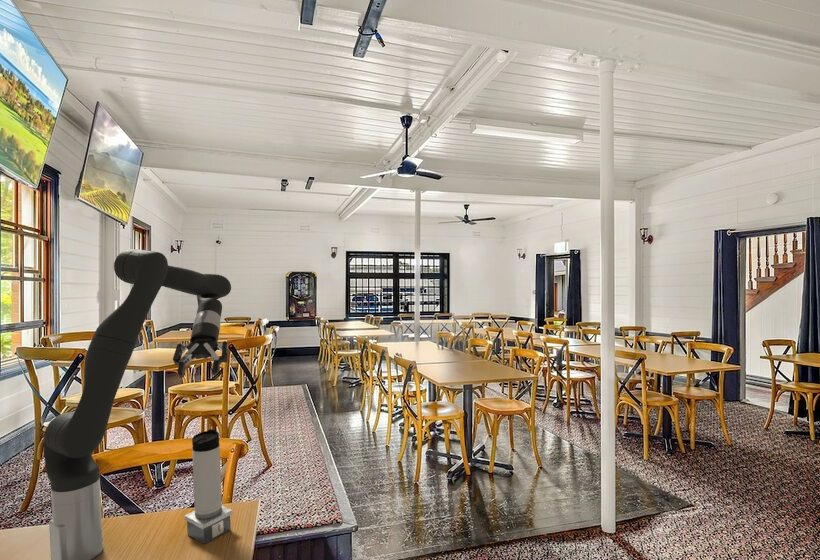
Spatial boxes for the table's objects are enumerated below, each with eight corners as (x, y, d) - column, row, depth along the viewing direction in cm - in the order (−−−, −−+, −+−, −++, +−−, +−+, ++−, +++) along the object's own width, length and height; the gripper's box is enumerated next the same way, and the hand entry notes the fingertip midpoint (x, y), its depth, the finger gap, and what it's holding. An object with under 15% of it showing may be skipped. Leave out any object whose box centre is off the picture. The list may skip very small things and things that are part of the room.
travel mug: (227, 505, 119) (224, 429, 119) (214, 519, 113) (211, 438, 112) (204, 505, 120) (201, 428, 119) (189, 518, 113) (186, 438, 113)
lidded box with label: (203, 545, 110) (202, 525, 110) (185, 535, 115) (184, 515, 115) (232, 529, 117) (232, 510, 117) (214, 520, 122) (213, 501, 121)
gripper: (178, 322, 136) (166, 369, 125) (229, 320, 138) (222, 366, 128) (184, 337, 141) (173, 384, 130) (233, 335, 144) (226, 380, 133)
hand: (197, 375), depth 129 cm, fingers open, 8 cm apart
